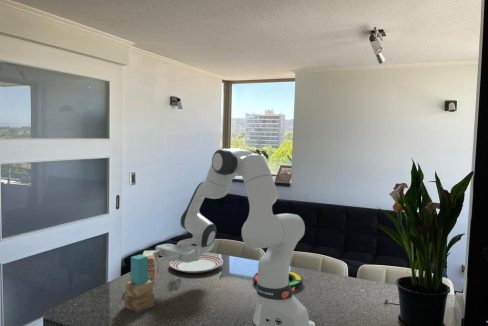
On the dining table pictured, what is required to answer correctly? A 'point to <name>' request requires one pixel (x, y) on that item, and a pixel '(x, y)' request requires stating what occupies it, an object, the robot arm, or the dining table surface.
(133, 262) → the teal pillar
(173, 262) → the dinner plate
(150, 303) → the walnut base block
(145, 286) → the oak top block
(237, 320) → the dining table surface
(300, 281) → the electronic game
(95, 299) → the dining table surface
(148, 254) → the stack of blocks
